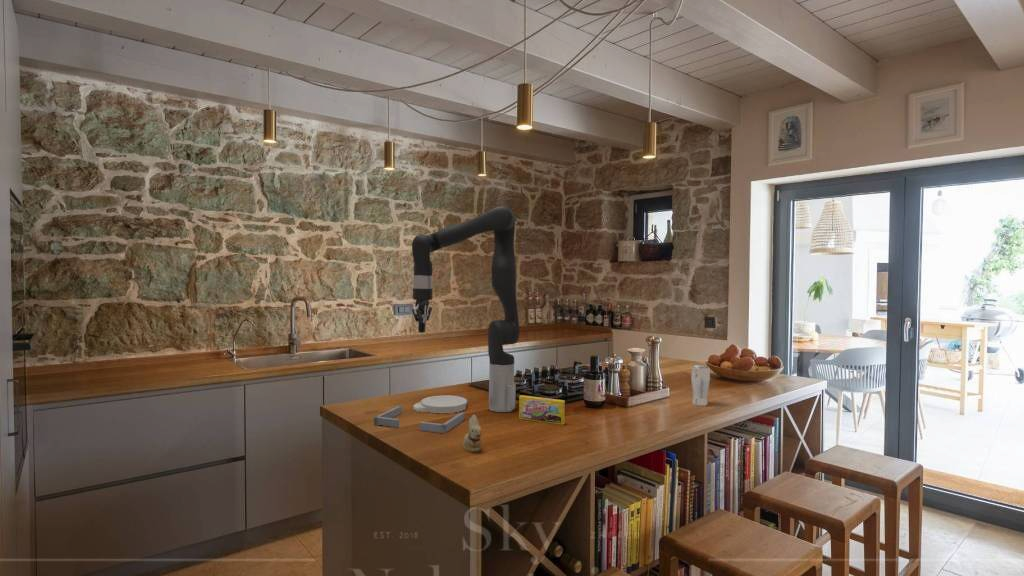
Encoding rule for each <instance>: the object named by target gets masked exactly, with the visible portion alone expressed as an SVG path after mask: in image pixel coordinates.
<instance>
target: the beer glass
mask: <svg viewBox="0 0 1024 576" xmlns="http://www.w3.org/2000/svg"><path fill="white" fill-rule="evenodd" d="M710 373H711V370H710V366H707V365H699V364H696V365H691V373H690V375H691V376H690V378H691V379H690V381H691V389H692V400H691V405H693V404H694V405H693V406H696V405H699V406H698V407H707V406H708V405H709V403H708V392H709V387H710V382H711V374H710ZM706 405H707V406H706Z"/></svg>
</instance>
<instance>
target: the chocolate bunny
mask: <svg viewBox="0 0 1024 576" xmlns="http://www.w3.org/2000/svg"><path fill="white" fill-rule="evenodd" d="M468 429H469V432H467V433H466V434H465V435H464V437H463V442H462V447H463V449H464V450H465V451H467V452H471V453H478V452H480V451H481V444H482V440H481V437H482V427H481V426H480V424H479V420H478V417H477V415H475V414H472V415H471V417H469V421H468Z"/></svg>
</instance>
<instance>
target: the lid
mask: <svg viewBox="0 0 1024 576" xmlns="http://www.w3.org/2000/svg"><path fill="white" fill-rule="evenodd" d="M467 405H468V399H467V398H465V397H463V396H458V395H448V394H447V395H446V394H445V395H433V396H428V397H425V398H422V399H421V400H420V401H419V402H417V403H414V404H413V406H412V407H413V410H414V411H415V410H416V411H415V412H418V411H421V412H422V413H425V412H426V413H429V412H430V414H436V413H440V415H441V413H442V415H444V413H449V414H455V412H457V413H461V412H463V410H464V411H465V410H467ZM460 411H461V412H460ZM421 412H420V413H421Z"/></svg>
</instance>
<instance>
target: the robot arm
mask: <svg viewBox="0 0 1024 576" xmlns="http://www.w3.org/2000/svg"><path fill="white" fill-rule="evenodd" d="M515 227H516V218H515V215H514V213H513V212H512V210H511V209H509V208H508V207H507V206H505V205H504V206H503V205H498V206H496V207H494V208H491V209H490V210H487V211H485V212H483V213H482V214H479V215H478V216H475V217H473V218H471V219H468V220H464V221H462V222H459V223H456V224H452V225H449V226H446V227H442V228H440V229H438V230H437V231H436V232H432V233H430V234H417V235H416V236H415V237H414V238H413V240H412V243H411V252H412V259H413V278H412V279H413V280H412V300H414V301H415V307H414V308H412V309H411V312H412V314H413V317H414V320H415V322H417V323H418V329H417V330H418V333H421V334H423V333H426V323H427V321H429V319H430V317H431V314H432V311H433V307H432V306H430V301H432V300H433V299H434V297H433V295H434V294H433V291H434V290H433V289H434V285H433V284H434V281H433V262H432V261H431V256H430V253H433V252H436V251H438V250H441V249H442V248H446V247H450V246H453V245H457V244H459V243H462V242H465V241H466V240H468V239H471V238H472V237H474V236H477V235H479V234H482V233H485V232H491V231H493V237H494V250H493V255H492V260H491V268H490V269H491V272H490V274H491V287H492V289H493V291H494V293H495V294H496V296H497V298H498V299H499V301H500V303H501V304H502V307H503V311H504V319H497V320H491V322H490V323H489V324H488V329H487V345H488V346H487V349H488V350H487V351H488V352H487V353H488V358H489V380H488V381H489V383H488V409H489V411H491V412H497V413H505V412H506V413H511V412H512V411H514V410H515V409H516V391H517V389H516V388H517V387H516V383H515V356H514V355H513V354H511V353H508V352H505V351H504V347H503V346H507V345H508V346H509V345H515V344H517V343H518V342H519V339H520V322H519V321H520V320H519V314H518V313H519V311H518V304H517V269H516V268H517V267H516V255H515V246H514V245H515V243H514V241H515Z"/></svg>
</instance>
